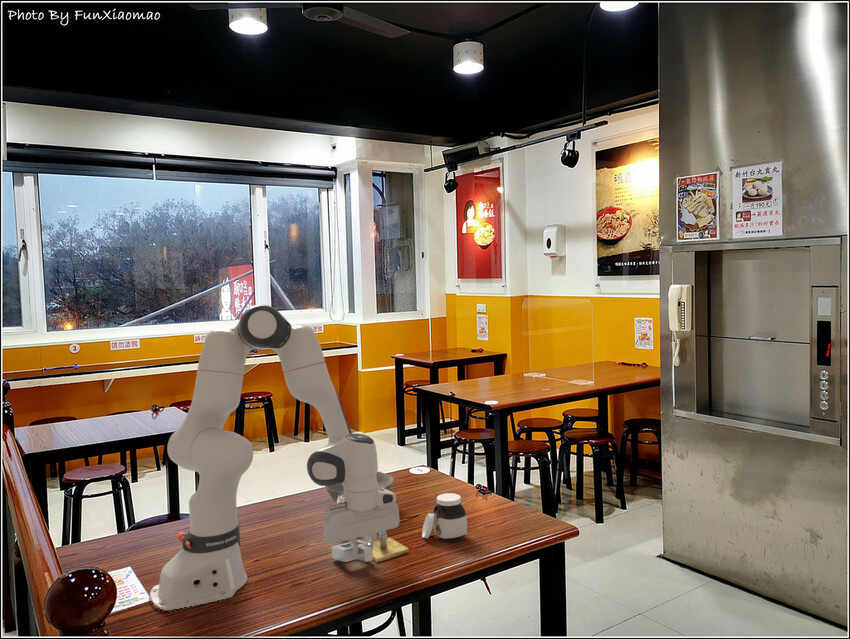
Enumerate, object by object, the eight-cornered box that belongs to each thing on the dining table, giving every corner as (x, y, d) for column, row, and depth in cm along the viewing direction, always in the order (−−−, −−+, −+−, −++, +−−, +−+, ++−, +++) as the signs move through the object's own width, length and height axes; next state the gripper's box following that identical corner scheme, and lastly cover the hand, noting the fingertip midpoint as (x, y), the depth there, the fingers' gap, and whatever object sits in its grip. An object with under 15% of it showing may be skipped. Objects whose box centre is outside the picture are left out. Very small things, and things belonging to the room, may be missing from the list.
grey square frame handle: (383, 556, 160) (381, 544, 161) (354, 564, 156) (353, 552, 156) (359, 551, 172) (358, 539, 172) (332, 558, 167) (331, 546, 168)
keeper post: (376, 562, 165) (375, 540, 165) (358, 550, 173) (357, 528, 173) (408, 552, 171) (407, 530, 170) (389, 540, 179) (388, 519, 179)
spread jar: (471, 539, 177) (470, 499, 177) (437, 549, 172) (435, 507, 171) (448, 526, 188) (447, 488, 187) (415, 535, 182) (413, 496, 181)
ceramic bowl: (342, 530, 188) (340, 497, 187) (316, 508, 208) (314, 478, 207) (408, 514, 199) (406, 483, 198) (377, 495, 219) (375, 466, 218)
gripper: (328, 510, 152) (330, 566, 152) (401, 493, 163) (403, 546, 163) (318, 503, 157) (320, 558, 158) (389, 487, 168) (391, 538, 169)
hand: (363, 552), depth 161 cm, fingers closed on grey square frame handle, 2 cm apart
